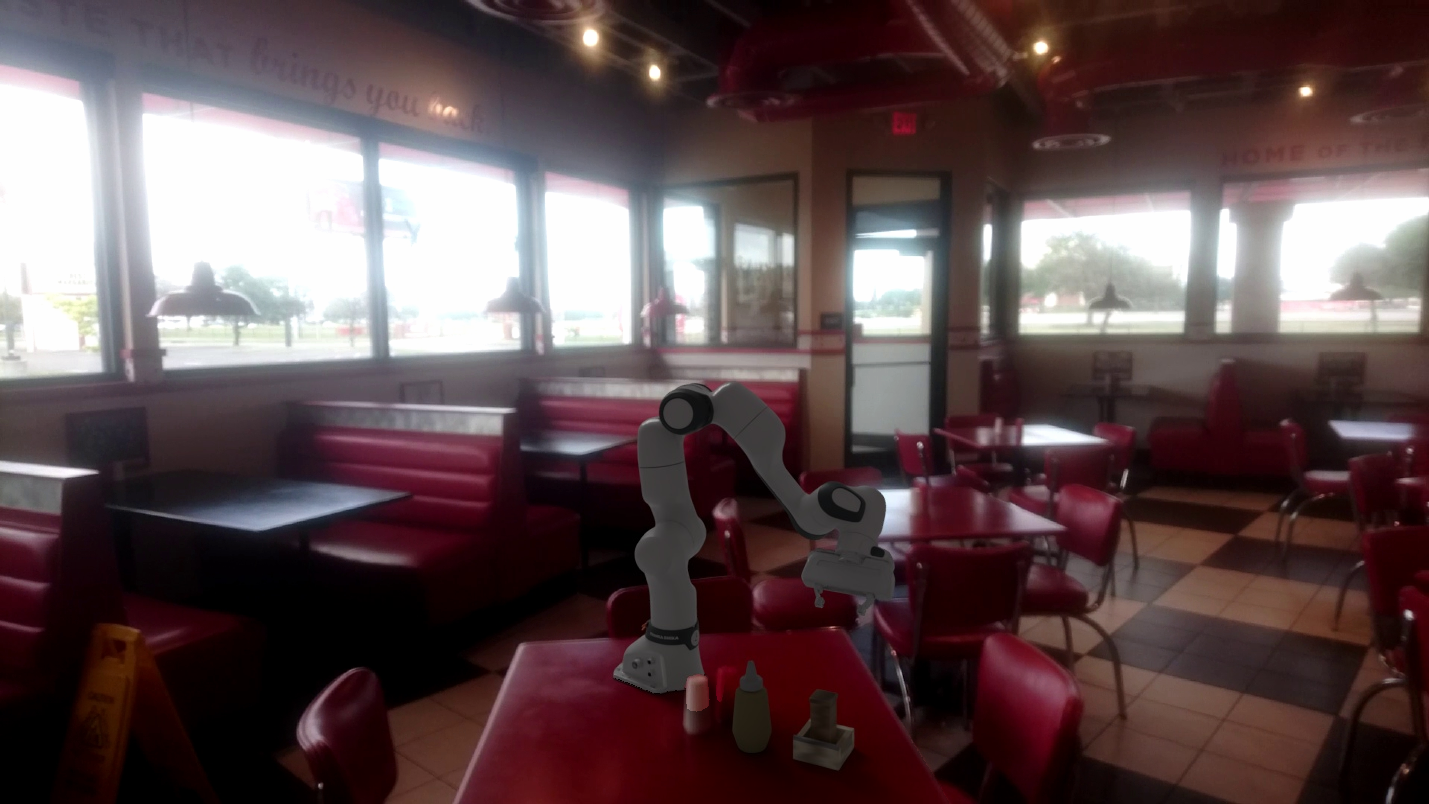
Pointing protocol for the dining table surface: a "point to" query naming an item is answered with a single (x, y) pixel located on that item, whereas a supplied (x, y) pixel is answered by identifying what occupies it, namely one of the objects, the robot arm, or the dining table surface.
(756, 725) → the squeeze bottle
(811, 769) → the dining table surface
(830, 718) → the brown capped wooden post
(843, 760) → the frame
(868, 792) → the dining table surface
